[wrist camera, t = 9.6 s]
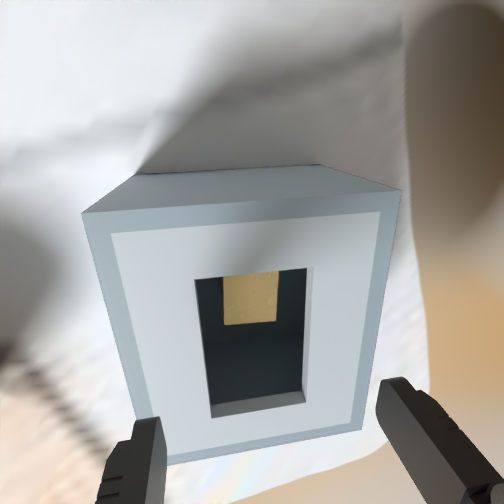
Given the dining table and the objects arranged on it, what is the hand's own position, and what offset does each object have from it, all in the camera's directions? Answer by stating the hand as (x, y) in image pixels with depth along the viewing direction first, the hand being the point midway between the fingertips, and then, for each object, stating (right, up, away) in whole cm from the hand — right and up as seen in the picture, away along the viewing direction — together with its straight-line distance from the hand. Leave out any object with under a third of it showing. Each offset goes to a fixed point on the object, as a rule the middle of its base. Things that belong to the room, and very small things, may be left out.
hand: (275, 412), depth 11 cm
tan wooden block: (-2, +6, +10) cm, 12 cm away
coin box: (-2, +5, +11) cm, 12 cm away
